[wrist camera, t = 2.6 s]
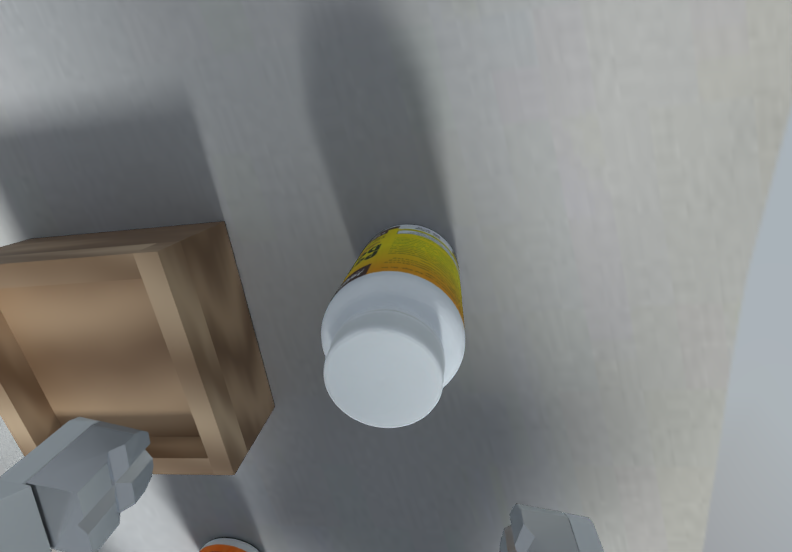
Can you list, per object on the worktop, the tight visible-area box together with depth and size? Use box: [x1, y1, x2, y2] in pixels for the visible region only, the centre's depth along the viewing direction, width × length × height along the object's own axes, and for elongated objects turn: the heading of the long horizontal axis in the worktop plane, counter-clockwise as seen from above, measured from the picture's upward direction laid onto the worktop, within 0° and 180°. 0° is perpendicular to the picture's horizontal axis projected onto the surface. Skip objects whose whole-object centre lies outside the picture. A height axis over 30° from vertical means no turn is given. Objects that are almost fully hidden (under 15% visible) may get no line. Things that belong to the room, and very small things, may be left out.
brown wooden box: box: [0, 221, 275, 475], centre depth 23 cm, size 13×13×6 cm
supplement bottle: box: [321, 224, 465, 428], centre depth 17 cm, size 6×6×10 cm
